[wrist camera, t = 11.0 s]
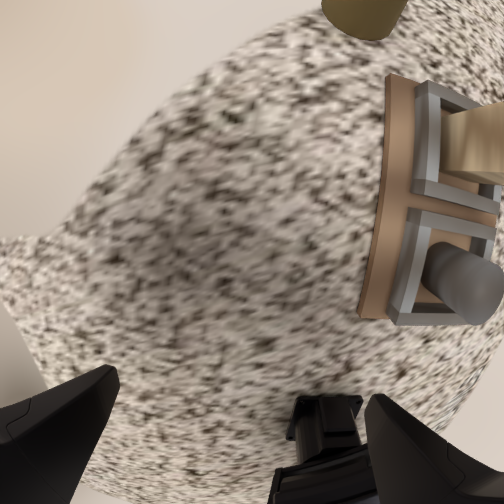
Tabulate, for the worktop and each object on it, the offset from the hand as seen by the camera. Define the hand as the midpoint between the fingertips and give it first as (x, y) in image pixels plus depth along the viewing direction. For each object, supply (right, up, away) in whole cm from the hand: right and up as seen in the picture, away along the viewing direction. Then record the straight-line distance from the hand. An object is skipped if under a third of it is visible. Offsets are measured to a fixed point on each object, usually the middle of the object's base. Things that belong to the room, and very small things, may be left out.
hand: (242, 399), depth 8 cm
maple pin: (+16, +12, +7) cm, 21 cm away
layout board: (+15, +8, +10) cm, 20 cm away
